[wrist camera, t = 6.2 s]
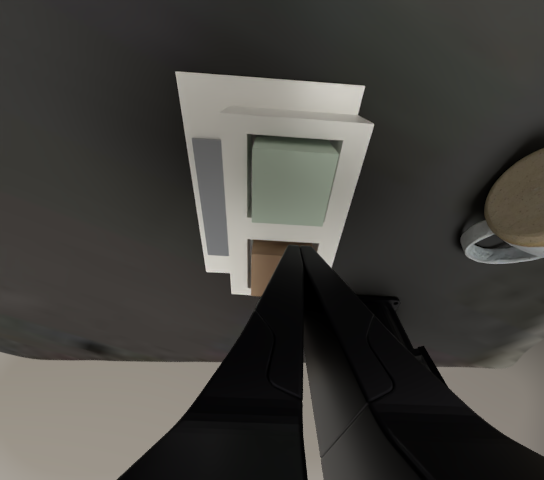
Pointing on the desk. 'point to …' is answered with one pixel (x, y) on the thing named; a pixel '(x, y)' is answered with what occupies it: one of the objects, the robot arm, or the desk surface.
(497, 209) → the ceramic mug
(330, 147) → the sage key
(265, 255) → the walnut key
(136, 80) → the desk surface
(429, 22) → the desk surface
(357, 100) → the key panel
